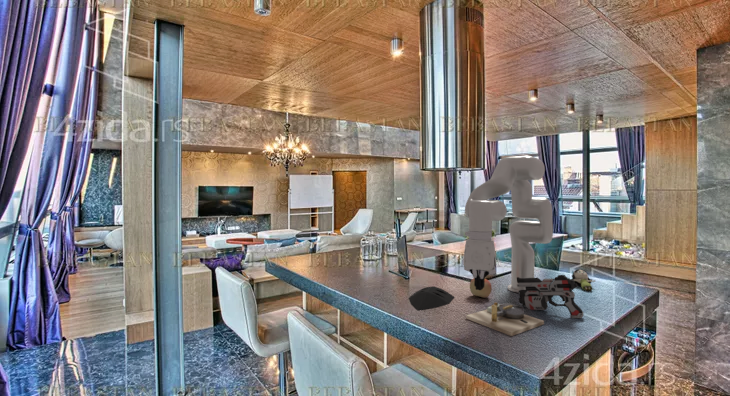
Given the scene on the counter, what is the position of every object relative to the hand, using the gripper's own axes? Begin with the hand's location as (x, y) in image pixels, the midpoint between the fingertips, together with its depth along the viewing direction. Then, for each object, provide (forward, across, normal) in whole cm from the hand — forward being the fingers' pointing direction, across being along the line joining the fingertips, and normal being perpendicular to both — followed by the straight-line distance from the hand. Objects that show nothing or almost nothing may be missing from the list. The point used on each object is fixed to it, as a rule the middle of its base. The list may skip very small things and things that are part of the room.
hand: (479, 289), depth 122 cm
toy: (+10, +24, +72) cm, 77 cm away
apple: (+11, -9, +29) cm, 32 cm away
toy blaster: (+11, +17, +26) cm, 33 cm away
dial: (+10, +7, +7) cm, 14 cm away
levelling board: (+11, +7, +6) cm, 14 cm away
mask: (+12, -25, +12) cm, 30 cm away
